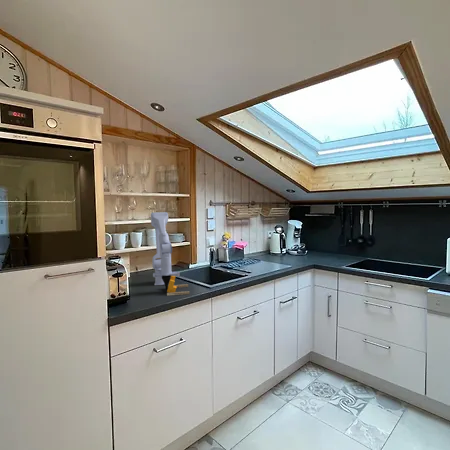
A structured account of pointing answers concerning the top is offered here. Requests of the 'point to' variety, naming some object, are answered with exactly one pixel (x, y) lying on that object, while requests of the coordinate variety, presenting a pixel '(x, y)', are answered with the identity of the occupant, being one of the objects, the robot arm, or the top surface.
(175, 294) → the rail channel
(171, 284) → the pipe clamp
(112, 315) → the top surface
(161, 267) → the robot arm
